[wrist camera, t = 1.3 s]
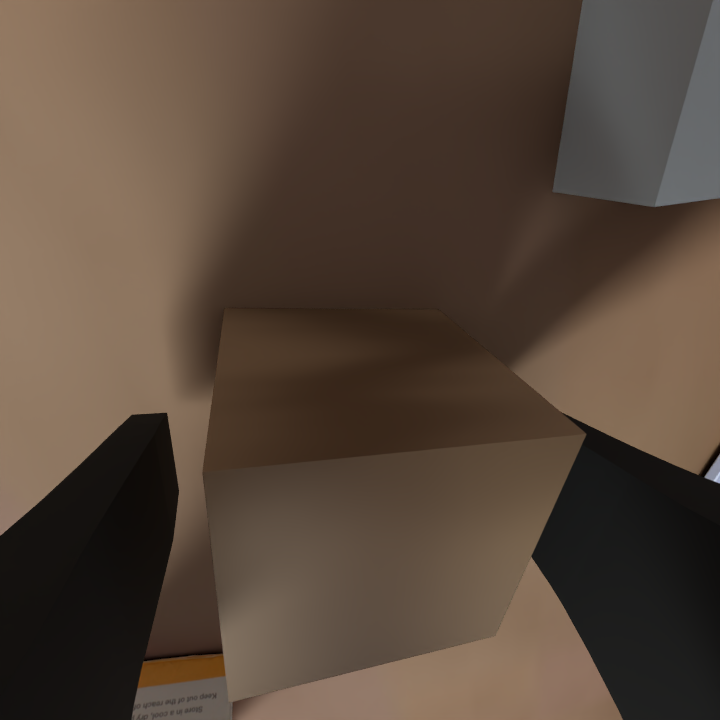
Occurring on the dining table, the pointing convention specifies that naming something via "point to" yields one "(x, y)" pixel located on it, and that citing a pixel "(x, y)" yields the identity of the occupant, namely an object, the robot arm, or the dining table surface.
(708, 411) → the dining table surface
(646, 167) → the grey flat square block
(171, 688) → the supplement box
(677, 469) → the robot arm
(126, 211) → the dining table surface
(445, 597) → the walnut cube
